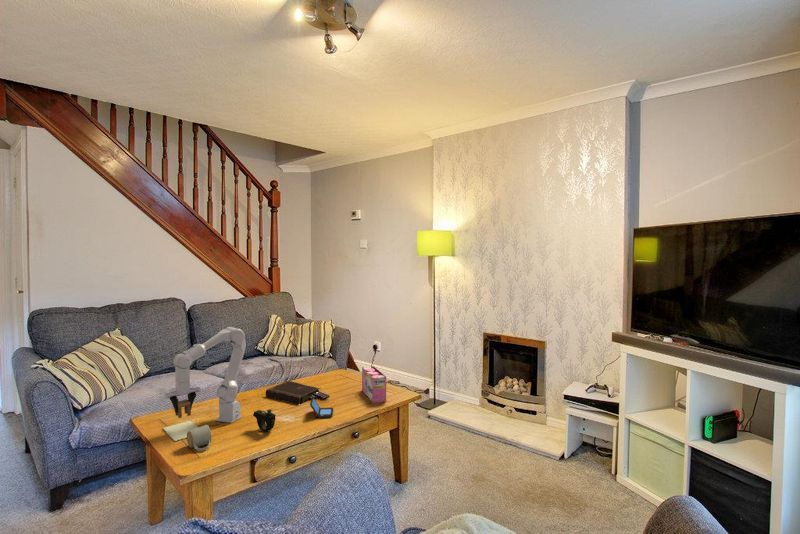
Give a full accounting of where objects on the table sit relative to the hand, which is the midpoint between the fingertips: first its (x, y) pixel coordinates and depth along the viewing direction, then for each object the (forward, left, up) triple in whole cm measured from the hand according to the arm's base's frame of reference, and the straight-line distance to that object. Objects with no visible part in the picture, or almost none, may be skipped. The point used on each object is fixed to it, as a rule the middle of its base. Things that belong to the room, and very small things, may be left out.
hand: (183, 410), depth 195 cm
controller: (-34, -12, -10) cm, 37 cm away
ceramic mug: (-18, +10, -10) cm, 23 cm away
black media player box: (-22, -57, -10) cm, 62 cm away
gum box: (-64, -71, -10) cm, 97 cm away
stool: (0, 0, -2) cm, 2 cm away
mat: (0, 0, -9) cm, 9 cm away
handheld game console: (-49, -38, -10) cm, 63 cm away
